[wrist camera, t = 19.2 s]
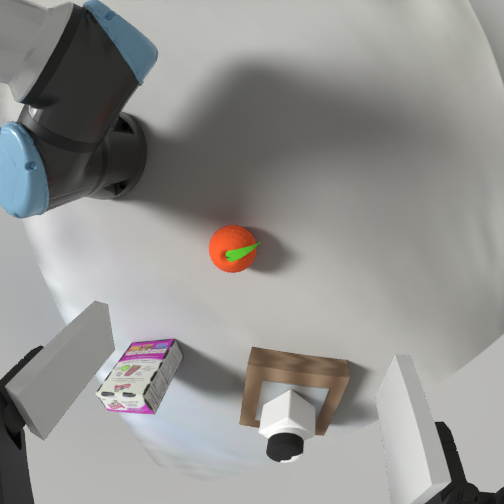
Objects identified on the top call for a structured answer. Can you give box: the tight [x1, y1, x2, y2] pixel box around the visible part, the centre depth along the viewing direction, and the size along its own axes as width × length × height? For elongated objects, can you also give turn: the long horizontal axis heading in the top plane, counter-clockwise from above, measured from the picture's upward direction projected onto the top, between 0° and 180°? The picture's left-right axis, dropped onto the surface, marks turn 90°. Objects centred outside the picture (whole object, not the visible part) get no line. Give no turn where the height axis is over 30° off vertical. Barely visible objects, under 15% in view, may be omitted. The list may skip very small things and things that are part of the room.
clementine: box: [209, 225, 260, 273], centre depth 45 cm, size 8×7×7 cm
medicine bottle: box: [259, 390, 315, 463], centre depth 47 cm, size 7×7×12 cm
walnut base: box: [239, 347, 350, 436], centre depth 55 cm, size 18×18×5 cm
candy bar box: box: [96, 339, 183, 414], centre depth 51 cm, size 11×5×16 cm, turn 106°
